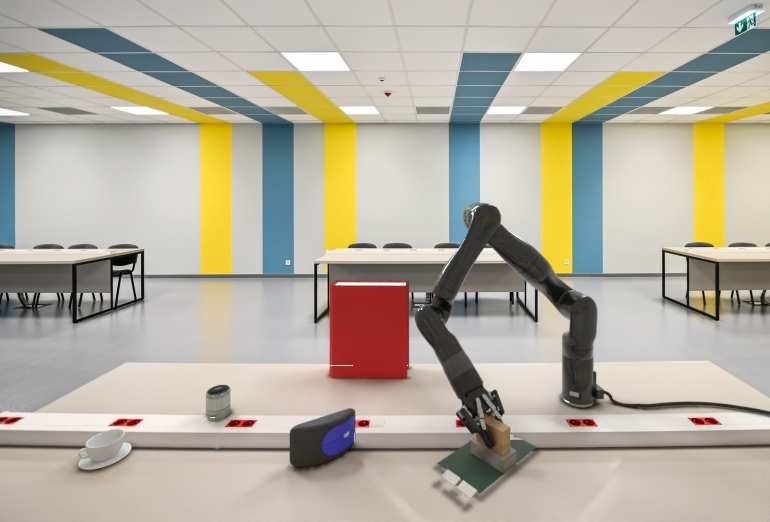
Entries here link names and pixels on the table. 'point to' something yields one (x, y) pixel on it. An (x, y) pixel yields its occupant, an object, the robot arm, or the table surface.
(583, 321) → the robot arm
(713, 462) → the table surface
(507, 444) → the eraser
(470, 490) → the smudge
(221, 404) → the camera lens
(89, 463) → the teacup
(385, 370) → the book
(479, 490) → the slate board
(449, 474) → the white square tile
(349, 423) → the computer mouse
